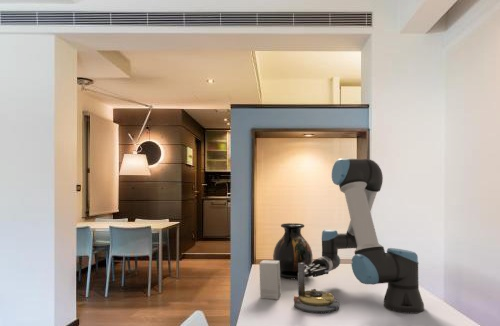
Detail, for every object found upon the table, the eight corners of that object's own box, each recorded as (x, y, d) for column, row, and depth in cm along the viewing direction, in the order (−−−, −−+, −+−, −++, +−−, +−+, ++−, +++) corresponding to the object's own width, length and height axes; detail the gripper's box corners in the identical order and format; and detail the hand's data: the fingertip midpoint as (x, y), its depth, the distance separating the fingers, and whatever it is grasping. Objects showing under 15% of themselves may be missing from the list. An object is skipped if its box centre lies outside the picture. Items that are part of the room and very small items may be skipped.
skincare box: (280, 295, 167) (280, 260, 168) (278, 300, 161) (277, 263, 162) (262, 294, 169) (262, 259, 170) (259, 298, 163) (259, 262, 164)
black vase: (304, 283, 188) (303, 227, 189) (266, 278, 198) (266, 225, 200) (318, 274, 206) (318, 223, 208) (283, 269, 217) (283, 221, 219)
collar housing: (348, 308, 150) (348, 295, 150) (314, 316, 140) (314, 302, 141) (317, 296, 165) (317, 284, 166) (284, 303, 156) (284, 290, 156)
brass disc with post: (329, 295, 160) (329, 259, 161) (337, 305, 146) (336, 267, 147) (296, 295, 160) (296, 259, 161) (300, 305, 146) (300, 267, 147)
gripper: (335, 276, 171) (313, 288, 151) (309, 272, 178) (285, 283, 159) (334, 259, 171) (313, 269, 152) (309, 256, 179) (285, 265, 159)
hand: (299, 276), depth 155 cm, fingers closed
